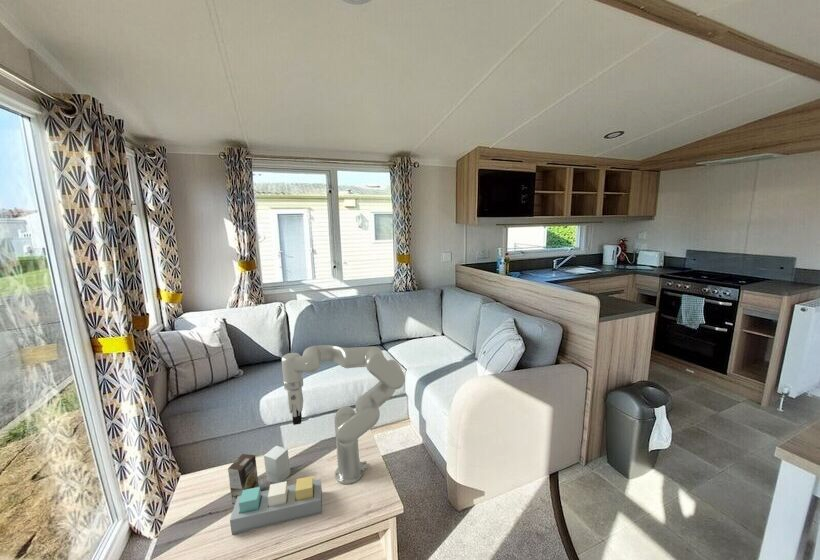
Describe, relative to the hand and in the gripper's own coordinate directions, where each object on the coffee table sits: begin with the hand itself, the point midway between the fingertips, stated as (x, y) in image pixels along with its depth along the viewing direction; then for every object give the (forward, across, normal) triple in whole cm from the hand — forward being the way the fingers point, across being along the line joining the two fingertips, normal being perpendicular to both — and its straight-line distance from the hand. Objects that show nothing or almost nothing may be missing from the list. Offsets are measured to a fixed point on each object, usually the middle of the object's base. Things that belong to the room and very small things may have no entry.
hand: (297, 423), depth 138 cm
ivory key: (+26, -13, +8) cm, 30 cm away
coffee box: (+29, 0, +23) cm, 37 cm away
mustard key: (+26, -13, -2) cm, 29 cm away
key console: (+29, -12, +8) cm, 33 cm away
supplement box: (+29, +7, +11) cm, 32 cm away
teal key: (+26, -12, +18) cm, 34 cm away
